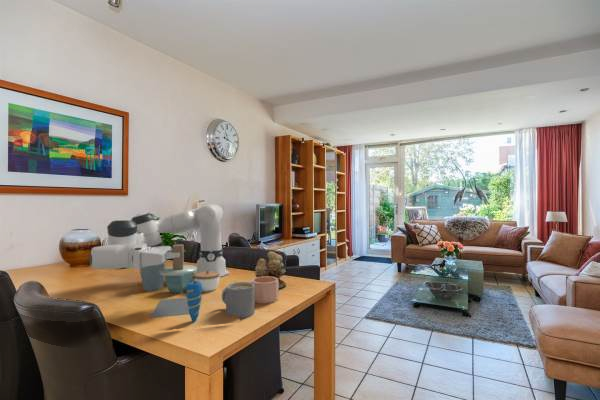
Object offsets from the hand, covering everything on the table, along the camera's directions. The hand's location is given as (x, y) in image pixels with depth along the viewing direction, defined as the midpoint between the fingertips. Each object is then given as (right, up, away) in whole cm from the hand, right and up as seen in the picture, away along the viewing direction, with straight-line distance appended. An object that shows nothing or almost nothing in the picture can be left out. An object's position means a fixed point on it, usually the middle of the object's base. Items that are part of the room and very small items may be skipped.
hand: (180, 253), depth 115 cm
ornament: (+10, -21, -15) cm, 27 cm away
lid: (-1, -7, 0) cm, 7 cm away
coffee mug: (+23, -21, -5) cm, 31 cm away
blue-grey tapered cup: (-24, -21, +27) cm, 42 cm away
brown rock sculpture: (+31, -21, +26) cm, 46 cm away
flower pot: (-8, -21, +19) cm, 30 cm away
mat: (-1, -21, 0) cm, 21 cm away
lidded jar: (+4, -21, +22) cm, 30 cm away
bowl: (+31, -20, +9) cm, 38 cm away
